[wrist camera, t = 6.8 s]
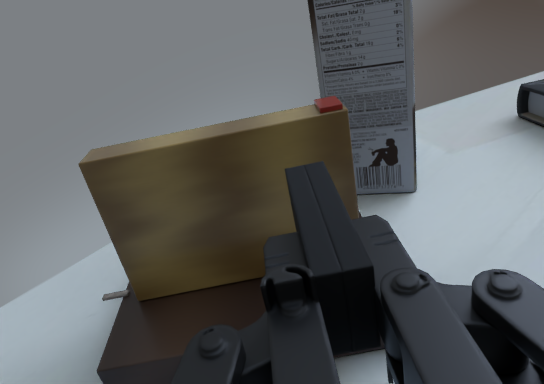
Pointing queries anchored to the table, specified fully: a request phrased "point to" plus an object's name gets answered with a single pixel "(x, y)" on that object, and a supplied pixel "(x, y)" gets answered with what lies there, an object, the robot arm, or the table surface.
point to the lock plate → (173, 329)
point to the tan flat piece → (213, 194)
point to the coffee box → (371, 85)
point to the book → (531, 102)
